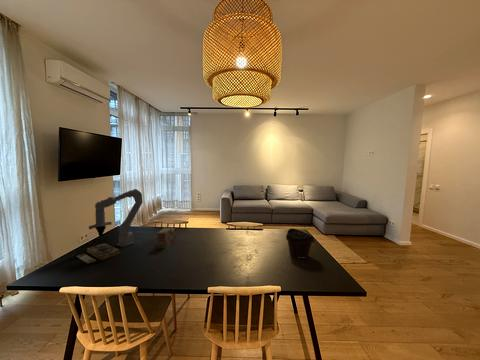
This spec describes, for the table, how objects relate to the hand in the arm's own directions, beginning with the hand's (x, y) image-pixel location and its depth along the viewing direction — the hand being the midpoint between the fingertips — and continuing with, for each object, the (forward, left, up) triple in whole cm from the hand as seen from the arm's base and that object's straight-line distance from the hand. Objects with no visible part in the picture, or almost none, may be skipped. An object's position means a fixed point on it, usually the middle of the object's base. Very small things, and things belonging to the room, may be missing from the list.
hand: (100, 236), depth 157 cm
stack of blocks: (-35, +30, -10) cm, 47 cm away
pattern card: (+14, +10, -9) cm, 19 cm away
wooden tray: (+3, +10, -9) cm, 14 cm away
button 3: (+3, +16, -9) cm, 18 cm away
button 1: (+3, +3, -9) cm, 10 cm away
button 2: (+3, +9, -7) cm, 12 cm away
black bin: (-76, +125, -10) cm, 147 cm away
